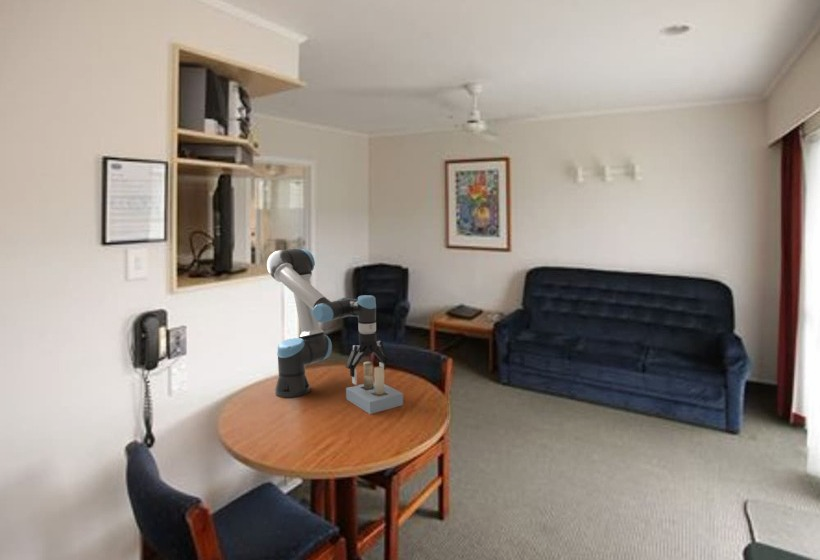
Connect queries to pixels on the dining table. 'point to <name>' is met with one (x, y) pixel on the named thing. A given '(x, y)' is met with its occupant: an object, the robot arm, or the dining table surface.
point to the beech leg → (368, 376)
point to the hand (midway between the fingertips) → (368, 380)
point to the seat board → (375, 395)
